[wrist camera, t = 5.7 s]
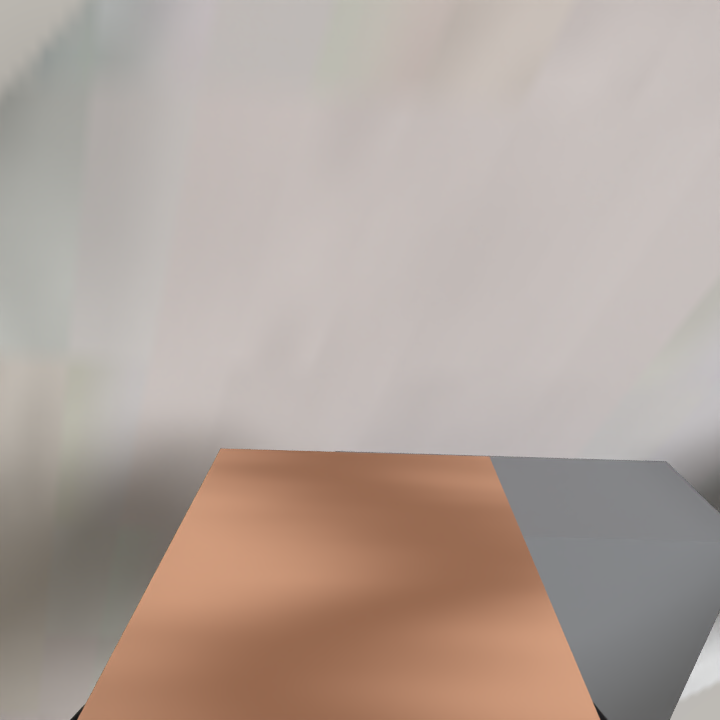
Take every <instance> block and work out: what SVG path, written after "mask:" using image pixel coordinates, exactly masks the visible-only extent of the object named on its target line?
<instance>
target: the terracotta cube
mask: <svg viewBox="0 0 720 720" xmlns="http://www.w3.org/2000/svg"><path fill="white" fill-rule="evenodd" d="M77 720H600V718H599V716H598V713H597V711H596V708H595V706H594V704H593V701H592V699H591V697H590V694H589V692H588V690H587V687H586V685H585V682H584V680H583V678H582V675H581V673H580V671H579V668H578V666H577V663H576V661H575V659H574V656H573V654H572V652H571V649H570V647H569V644H568V642H567V640H566V637H565V635H564V633H563V630H562V628H561V625H560V623H559V621H558V618H557V616H556V614H555V611H554V609H553V606H552V604H551V602H550V599H549V597H548V595H547V592H546V590H545V587H544V585H543V583H542V580H541V578H540V576H539V573H538V571H537V568H536V566H535V564H534V561H533V559H532V557H531V554H530V552H529V549H528V547H527V545H526V542H525V540H524V538H523V535H522V533H521V531H520V528H519V526H518V523H517V521H516V519H515V516H514V514H513V512H512V509H511V507H510V504H509V502H508V500H507V497H506V495H505V493H504V490H503V488H502V485H501V483H500V481H499V478H498V476H497V474H496V471H495V469H494V466H493V464H492V462H491V459H490V457H489V456H456V455H422V454H388V453H354V452H320V451H285V450H251V449H220V451H219V453H218V455H217V456H216V458H215V460H214V462H213V464H212V466H211V468H210V470H209V472H208V473H207V475H206V477H205V479H204V481H203V483H202V485H201V487H200V489H199V490H198V492H197V494H196V496H195V498H194V500H193V502H192V504H191V506H190V507H189V509H188V511H187V513H186V515H185V517H184V519H183V521H182V523H181V525H180V526H179V528H178V530H177V532H176V534H175V536H174V538H173V540H172V542H171V543H170V545H169V547H168V549H167V551H166V553H165V555H164V557H163V559H162V560H161V562H160V564H159V566H158V568H157V570H156V572H155V574H154V576H153V577H152V579H151V581H150V583H149V585H148V587H147V589H146V591H145V593H144V594H143V596H142V598H141V600H140V602H139V604H138V606H137V608H136V610H135V611H134V613H133V615H132V617H131V619H130V621H129V623H128V625H127V627H126V629H125V630H124V632H123V634H122V636H121V638H120V640H119V642H118V644H117V646H116V647H115V649H114V651H113V653H112V655H111V657H110V659H109V661H108V663H107V664H106V666H105V668H104V670H103V672H102V674H101V676H100V678H99V680H98V681H97V683H96V685H95V687H94V689H93V691H92V693H91V695H90V697H89V698H88V700H87V702H86V704H85V706H84V708H83V710H82V712H81V714H80V715H79V717H78V719H77Z"/></svg>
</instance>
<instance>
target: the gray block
mask: <svg viewBox="0 0 720 720" xmlns="http://www.w3.org/2000/svg"><path fill="white" fill-rule="evenodd" d="M336 452H344V451H336ZM354 453H376V452H354ZM388 454H408V453H388ZM422 455H440V454H422ZM456 456H472V455H456ZM489 457H490V459H491V462H492V464H493V466H494V469H495V471H496V474H497V476H498V478H499V481H500V483H501V485H502V488H503V490H504V493H505V495H506V497H507V500H508V502H509V504H510V507H511V509H512V512H513V514H514V516H515V519H516V521H517V523H518V526H519V528H520V531H521V533H522V535H523V538H524V540H525V542H526V545H527V547H528V549H529V552H530V554H531V557H532V559H533V561H534V564H535V566H536V568H537V571H538V573H539V576H540V578H541V580H542V583H543V585H544V587H545V590H546V592H547V595H548V597H549V599H550V602H551V604H552V606H553V609H554V611H555V614H556V616H557V618H558V621H559V623H560V625H561V628H562V630H563V633H564V635H565V637H566V640H567V642H568V644H569V647H570V649H571V652H572V654H573V656H574V659H575V661H576V663H577V666H578V668H579V671H580V673H581V675H582V678H583V680H584V682H585V685H586V687H587V690H588V692H589V694H590V697H591V699H592V701H593V702H594V703H595V705H596V706H597V707H598V708H599V710H600V711H601V712H602V713H603V714H604V716H605V717H606V718H607V719H608V720H670V718H671V716H672V714H673V711H674V709H675V707H676V705H677V703H678V700H679V698H680V696H681V694H682V692H683V690H684V687H685V685H686V683H687V681H688V679H689V677H690V674H691V672H692V670H693V668H694V666H695V663H696V661H697V659H698V657H699V655H700V653H701V650H702V648H703V646H704V644H705V642H706V640H707V637H708V635H709V633H710V631H711V629H712V627H713V624H714V622H715V620H716V618H717V616H718V613H719V611H720V513H719V512H718V511H717V510H716V509H715V508H714V507H713V506H712V505H711V504H710V503H709V502H708V501H707V500H706V499H705V498H703V497H702V496H701V495H700V494H699V493H698V492H697V491H696V490H695V489H694V488H693V487H692V486H691V485H690V484H689V483H688V482H687V481H686V480H685V479H684V478H683V477H682V476H681V475H680V474H679V473H677V472H676V471H675V470H674V469H673V468H672V467H671V466H670V465H669V464H668V463H667V462H664V461H632V460H600V459H568V458H536V457H504V456H489Z"/></svg>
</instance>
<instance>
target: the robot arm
mask: <svg viewBox="0 0 720 720" xmlns="http://www.w3.org/2000/svg"><path fill="white" fill-rule="evenodd" d="M593 704H594V706H595V708H596V711H597V713H598V716H599V718H600V720H608V719H607V718H606V717H605V716H604V714H603V713H602V712H601V711H600V710H599V708H598V707H597V706H596V705H595V703H594V702H593ZM84 706H85V705H84ZM84 706H83V707H82V708H81V709H80V710H79V711H78V712H77V713H76V714H75V715H74V716H73V717H72V718H71V720H77V719H78V717H79V715H80V714H81V712H82V710H83V708H84Z"/></svg>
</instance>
